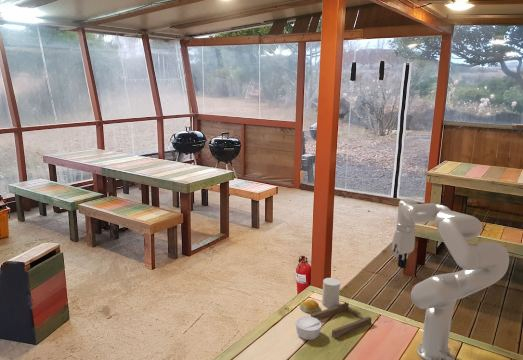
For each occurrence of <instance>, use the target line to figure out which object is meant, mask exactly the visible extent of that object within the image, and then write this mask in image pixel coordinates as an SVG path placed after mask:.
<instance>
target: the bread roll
mask: <svg viewBox="0 0 523 360" xmlns="http://www.w3.org/2000/svg"><path fill="white" fill-rule="evenodd" d="M319 309H320V305H319V303H318V302H317V301H316V300H314V299H307V300H305V301H302V302H300V303H299V310H301V311H302V312H304V313H309V314H310V313H315V312H317V311H319Z"/></svg>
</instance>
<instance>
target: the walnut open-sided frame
mask: <svg viewBox="0 0 523 360" xmlns="http://www.w3.org/2000/svg"><path fill="white" fill-rule="evenodd" d="M349 305H350V304H349V303H348V302H345V303H341V304H339V305H338V306H335V307H332V308H327V309H324V310H321V311H318V312H317V311H316V312H313V313H312V314H310V317H314V318H316V319H318V320H319V321H320V320H323V319H325V318H328V317H331V316H334V315H338V314H341V313H342V312H345V311H347V312H349V313H350V314H352V315H354V316H355V317H357V318H359V319H358V320H356V321H353V322H350V323H348V324H345V325H343V326H340V327H337V328H334V329H332V332H331V337H332V338H333V339H335V338H339V337H341V336H343V335H346V334H349V333H351V332H354V331H356V330H359V329H362V328H364V327H367V326H369V325H372V317H371V316H366V317H364V316H363V315H361V314H359V313H357V312H356V311H355V310H354V309H352V308H350V306H349Z"/></svg>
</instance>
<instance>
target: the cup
mask: <svg viewBox="0 0 523 360" xmlns="http://www.w3.org/2000/svg"><path fill="white" fill-rule="evenodd" d="M340 289H341V281H340V279H337V278H335V277H326V278H324V279H323V280H322V293H321V294H322V295H321V297H322V298H321V305H322V307H325V308H327V309H329V308H332V307H335V306H338V305H340V304H339V303H340Z"/></svg>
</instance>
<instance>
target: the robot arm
mask: <svg viewBox="0 0 523 360" xmlns="http://www.w3.org/2000/svg"><path fill="white" fill-rule="evenodd" d="M397 210H398V211H397V218H396V219H397V220H396V221H397V222H396V230H395V231H394V234H393V238H392V244H391V252H393V253H394V254H393V257H396V258H397V259H398V260H397V267H399V268H400V269H406V268H407V261H408V259H409V255H410V254H411V253H413V251H414V250H415V245H416V244H415V243H416V224H418V223H427V222H428V223H429V222H434V225H435V227H436V229H438V232H439V235H440V238H441V239H442V241H443V244H444V245H445V247H446V248H447V250H448V251H449V253H450V255H451V257H452V258H453V260H454V261H455V263H456V265H458V266H459V267H460V268H461V270H458V271H456V272H449V273H441V274H435V275H433V276H430V277H428V278H426V279H424V280H422V281H420V282H418V283H416V284H415V285H414V286H413V287H412V288H411V292H410V298H411V301H412V303H413V304H414V305H415V307H417V308H419V309H421V310H426V311H425V317H424V324H423V332H422V340H421V343H419V345H418V346H417V348H416V352H417V355H418V356H419V357H421V358H422V359H423V360H456V356H455V355H454V354H452V353H451V348H450V347H449V340H450V339H449V338H450V335H451V334H450V331H451V325H452V318H453V313H454V310H455V307H456V304H457V301H458V300H460V299H464V298H465V297H468V296H470V295H473V294H475V293H477V292H479V291H482V290H484V289H485V288H488V287H490V286H493V285H494V284H496V283H498V282H499V281H500V280H501V279H502V278H503V277H504V276H505V275H506V273H507V271H508V268H509V265H510V255H509V252H508V250H507V248H506V247H505V246H503V245H501V244H500V243H497V242H487V241H486V242H476V243H470V244H469V242H468V241H467V240H471V239H472V240H473V239H475V238H477V237H478V236H480V235H481V233H482V230H483V225H482V222H481V220H479V218H477V217H476V216H473V215H470V214H466V213H461V212H459V211H458V212H457V211H454V210H451V209H450V208H449V207H448V206H446V205H442V204H438V203H433V202H432V203H431V202H429V203H418V202H417V201H416V200H415V199H410V198H403V199H400V200H399V202H398V209H397Z"/></svg>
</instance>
